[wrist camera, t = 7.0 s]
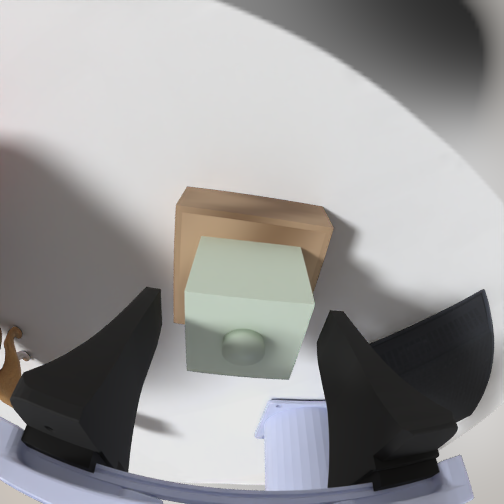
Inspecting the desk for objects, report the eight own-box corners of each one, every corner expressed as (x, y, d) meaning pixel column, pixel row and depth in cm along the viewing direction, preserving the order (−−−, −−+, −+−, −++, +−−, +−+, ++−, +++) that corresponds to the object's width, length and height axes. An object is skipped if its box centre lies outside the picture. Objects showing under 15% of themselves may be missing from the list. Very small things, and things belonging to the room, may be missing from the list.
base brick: (322, 206, 16) (333, 228, 13) (292, 309, 19) (297, 337, 17) (187, 186, 15) (175, 205, 13) (181, 295, 19) (173, 322, 16)
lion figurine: (116, 401, 26) (94, 476, 18) (93, 410, 28) (73, 475, 20) (1, 309, 20) (-46, 379, 12) (-9, 329, 22) (-47, 391, 14)
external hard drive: (378, 430, 31) (385, 457, 27) (346, 346, 22) (357, 389, 18) (471, 389, 28) (482, 413, 24) (487, 280, 19) (514, 312, 15)
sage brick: (300, 246, 14) (317, 314, 10) (282, 319, 16) (289, 388, 12) (201, 235, 14) (181, 300, 10) (198, 311, 16) (185, 379, 12)
